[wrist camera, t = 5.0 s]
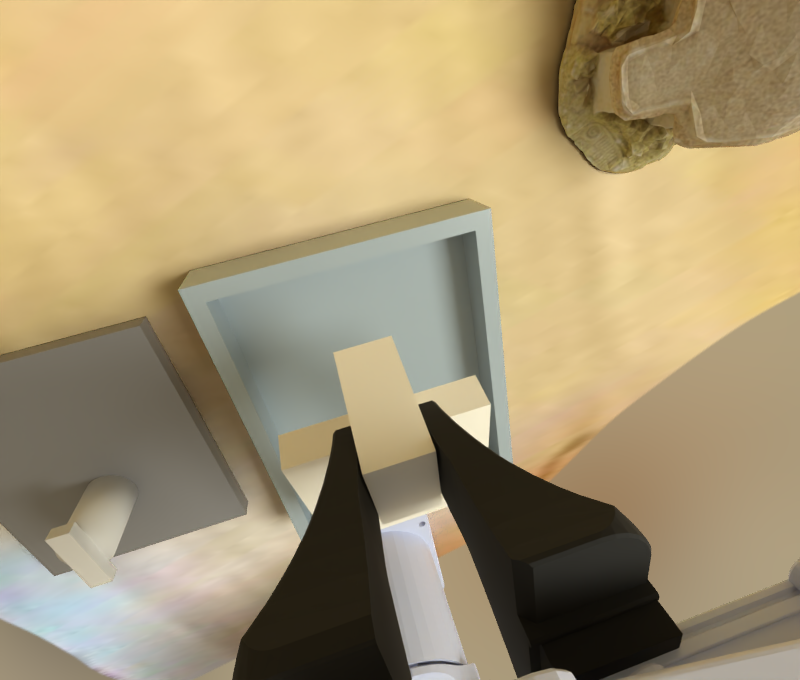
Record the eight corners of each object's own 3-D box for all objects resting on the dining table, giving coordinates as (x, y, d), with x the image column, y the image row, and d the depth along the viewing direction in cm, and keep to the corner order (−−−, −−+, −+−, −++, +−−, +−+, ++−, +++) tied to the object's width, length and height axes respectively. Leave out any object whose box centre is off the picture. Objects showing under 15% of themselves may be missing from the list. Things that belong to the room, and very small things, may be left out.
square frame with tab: (474, 467, 23) (512, 553, 20) (328, 516, 22) (344, 613, 19) (475, 310, 15) (541, 417, 12) (242, 378, 14) (246, 512, 11)
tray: (496, 445, 29) (513, 471, 27) (300, 509, 28) (302, 542, 26) (469, 198, 21) (490, 208, 19) (189, 270, 20) (177, 290, 17)
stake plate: (247, 501, 26) (239, 578, 22) (62, 560, 25) (15, 654, 21) (145, 316, 20) (106, 373, 16) (-109, 384, 19) (-230, 466, 14)
